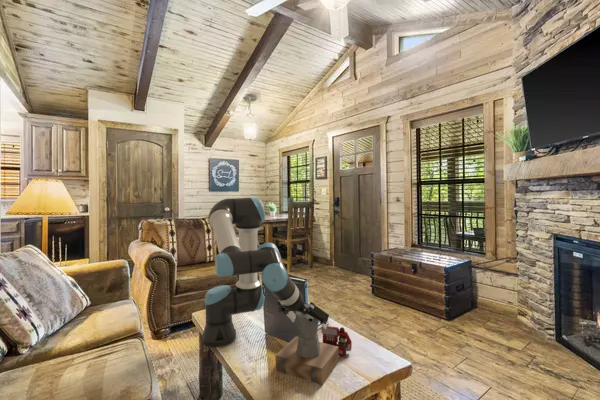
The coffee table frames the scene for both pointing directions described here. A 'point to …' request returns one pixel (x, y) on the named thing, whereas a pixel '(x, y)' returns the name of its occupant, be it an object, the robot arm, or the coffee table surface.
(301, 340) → the coffeepot
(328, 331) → the toy fire truck
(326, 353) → the brown wooden block
